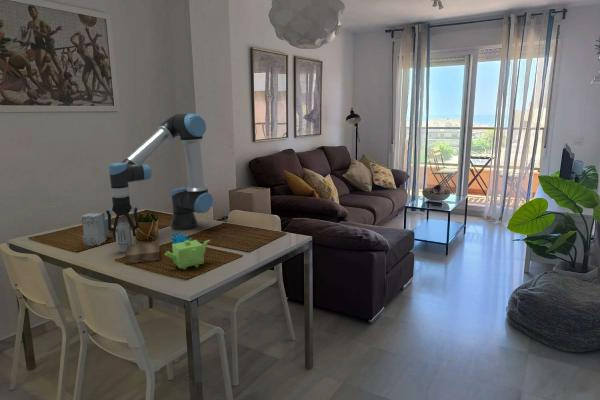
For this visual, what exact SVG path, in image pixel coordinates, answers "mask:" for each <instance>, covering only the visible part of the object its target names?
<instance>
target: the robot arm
mask: <svg viewBox="0 0 600 400" xmlns="http://www.w3.org/2000/svg"><path fill="white" fill-rule="evenodd" d="M206 130H207V125H206V121H205V119H204V118H203V117H202V116H201V115H199V114H196V113H177V114H176V113H175V114H174V115H171V116H170V117H168V118H167V119H166V120H165V121H163V122H161V124H159V125H158V127H157V130H156V131H155V132H154V133H153V134H152V135H150V137H148V138H147V139H146V140H144V141H143V143H141V144H140V145H139V146H138V147H137V148H136V149H134V151H133V152H132V153H131V154H129V155H128V156H127V157H126V158H125V159H123V161H121V162H112V163H110V164H109V166H108V175H109V180H110V182H109V183H110V191H111V197H112V198H111V201H112V207H111V208H110V209H107V210H106V214H107V218H108V230H109V231H111V232H112V237H113V239H116V240H115V242H116V246H119V243H118V233H117V223H118V221H119V217H124V216H125V217H126V220H128V221H129V223H130V225H131V237H132V245H133V244H134V243H135V237H136V234H137V232H136V230H137V229H139V228H140V223H139V217H138V207H137V206H136V207H134V206H132V204H131V199H130V196H129V195H130V187H129V183H134V182H140V181H146V180H150V179H151V178H152V174H153V173H152V168H151V167H150V165H148V164H145V163H146V162H147V161H148V160H149V159H150V158H151V157H152V156H153V155H154V154H155V153H157V152H158V150H159V149H160V148H162V147H163V146H164V145H165V144H166V143H168V141H173V140H174V139H175V138H176V137H180V140H179V141H181V142H182V143H183V147H184V149H183V150H184V157H185V167H186V175H187V185H188V186H186V187H185V186H184V187H179V188H178V187H177V188H174V189H172V191H171V202H172V205H171V206H172V218H171V221H170V229H172V230H175V231H185V230H186V231H187V230H192V229H195V228H198V226H199V225H198V220H197V217H196V215H195V213H197V214H205V213H208V212H209V211H210V210H211V208H212V207H213V205H214V197H213V195H212V194H211V193H209V189H208V186H206V184H205V177H204V176H205V175H204V168H203V167H204V166H203V157H202V148H201V142H202V140H203V138H204V137H203V136H204V134H205V133H206ZM131 210H132V213H133V216H134V221H135V222H134V221H133V219H132V217H131V215H130V212H131ZM113 213H114V214H115V220H114V224H113V227H112V214H113ZM134 223H135V224H134Z"/></svg>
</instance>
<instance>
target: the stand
mask: <svg viewBox="0 0 600 400" xmlns="http://www.w3.org/2000/svg"><path fill="white" fill-rule="evenodd" d="M156 260H159V261H161V256H160V245H159V242H154V243H146V244H144V243H143V244H137V245H136V244H135V245H133V246H127V250H126V253H125V263H126V265H132V264H131V263H134V264H139V263H138V262H142V263H149V262H148V261H150V262H157V261H156Z"/></svg>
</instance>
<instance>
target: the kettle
mask: <svg viewBox="0 0 600 400" xmlns="http://www.w3.org/2000/svg"><path fill="white" fill-rule="evenodd" d="M210 241H211V239H208V240H204V242H203V244H202V243H201V242H199V241H198V240H197V239H194V240H190V241H189V240H187V241H184V242H181V243H174V244H172V243H171V246H172V248H171V249H172V252H170V251H169V250H166V251H165V253H164V256H166V257H168V258H170V259H172V260H173V263H174V264H175V266H177V268H178V269H181V270H182V269H186V268H187V269H188V267H194V266H195V267H194V268H199V267H198V266H200V265H203V264H205V257H204V255H205V253H206V250H207V249H206V248H207V245H208V243H210ZM187 269H186V270H187Z"/></svg>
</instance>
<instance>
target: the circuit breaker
mask: <svg viewBox="0 0 600 400" xmlns="http://www.w3.org/2000/svg"><path fill="white" fill-rule="evenodd" d="M80 218H81V219H80V222H81V225H82V230H83V236H82V239H83V243H84V244H83V246H94V245H96V244H97V245H98V246H101V243H102V244H103V242H104V243H105V241H106V240H107V241H108V238H107V235H108V234H109V233H111V232H112V231H109V230H108V217H105V213H104V212H89V213H86V214H83V215H81V216H80ZM107 241H106V242H107ZM85 244H87V245H85ZM93 244H94V245H93Z"/></svg>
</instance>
